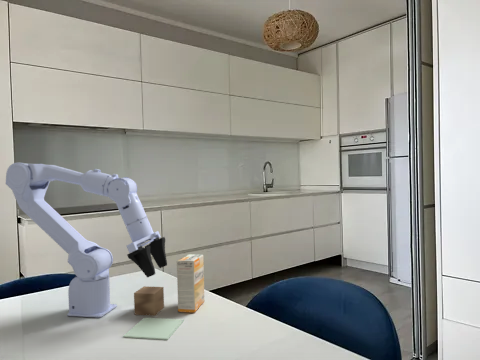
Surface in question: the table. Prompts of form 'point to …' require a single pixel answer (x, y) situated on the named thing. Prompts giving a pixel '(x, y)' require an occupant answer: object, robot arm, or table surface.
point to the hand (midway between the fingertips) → (157, 271)
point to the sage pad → (154, 328)
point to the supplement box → (190, 282)
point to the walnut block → (149, 301)
